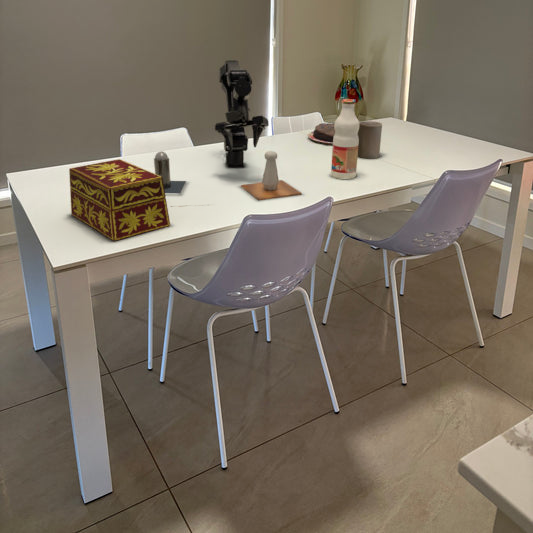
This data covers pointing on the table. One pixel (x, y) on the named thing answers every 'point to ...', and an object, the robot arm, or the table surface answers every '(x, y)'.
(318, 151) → the table surface
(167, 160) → the pepper shaker
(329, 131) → the chocolate cake
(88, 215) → the decorative box
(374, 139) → the pillar candle
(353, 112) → the fruit juice
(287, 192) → the oak board
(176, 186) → the slate mat
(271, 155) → the salt shaker
